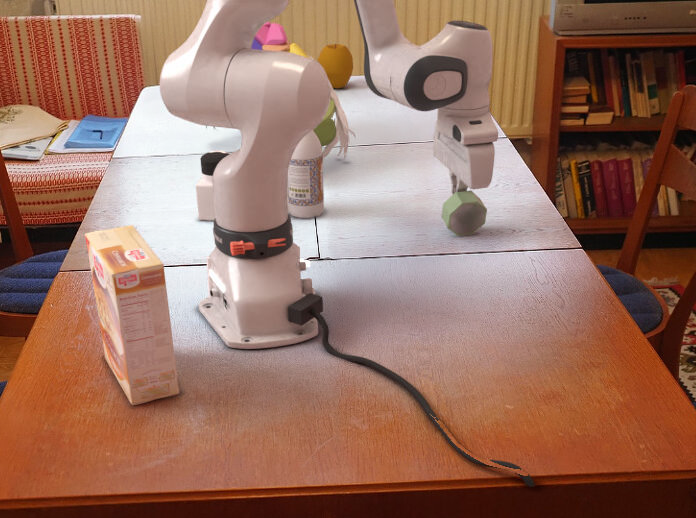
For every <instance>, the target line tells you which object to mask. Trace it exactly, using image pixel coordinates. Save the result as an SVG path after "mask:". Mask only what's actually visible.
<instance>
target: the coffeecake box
mask: <svg viewBox="0 0 696 518" xmlns="http://www.w3.org/2000/svg"><path fill="white" fill-rule="evenodd" d="M84 237H85V243H86V248H87V255H88V260H89V267H90V272H91V279H92V284H93V290H94V291H93V292H94V297H95V302H96V308H97V314H98V315H97V316H98V320H99V326H100V332H101V338H102V345H103V350H104V359H105V360H106V362H107V364H108V366H109V368H110V369H111V371H112V373H113V375H114V377H115V378H116V380H117V382H118V383H119V385H120V387H121V389H122V391H123V392H124V394H125V396H126V397H127V400H128V401H129V403H130V404H131V406H136V405H137V406H138V405H140V404H144V403H149V402H151V401H155V400H158V399H163V398H168V397H172V396H176V395H179V394H180V389H179V380H178V372H177V365H176V355H175V349H174V348H175V347H174V340H173V330H172V323H171V315H170V306H169V299H168V298H169V297H168V291H167V282H166V275H165V266H164V265H165V264H164V263H163V262H162V260H161V259H160V258H159V256H158V255H157V254H156V253H155V251H154V250H153V249H152V247H151V246H150V245H149V243H147V241H146V240H145V239H144V237H142V235H141V234H140V233H139V231H138V230H137V229H136V227H135V226H134V225H132V224H130V225H125V226H119V227H115V228H108V229H99V230H95V231H90V232H86V233H85V234H84Z"/></svg>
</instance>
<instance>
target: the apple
mask: <svg viewBox="0 0 696 518" xmlns="http://www.w3.org/2000/svg"><path fill="white" fill-rule="evenodd" d="M353 58H354V57H353V54H352V53H351V51H350V49H349V48H348V47H347V46H346V45H344V44H340V43H337V42H336V43H334V44H326V45H325V46H324V47H322V49H321V51H320V53H319V55H318V57H317V60H316V61H317V62H319V63H320V64H321V66H322V67H323V69H324V70H325V72H326V74H327V77H328V79H329V81H330V83H331V85H332V87H333V89H341V88H342V89H343V88H345V87H346V85H348V83H349V81H350V79H351V78H352V74H353V71H354V59H353Z"/></svg>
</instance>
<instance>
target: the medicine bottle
mask: <svg viewBox="0 0 696 518" xmlns="http://www.w3.org/2000/svg"><path fill="white" fill-rule="evenodd" d="M229 154H231V153H230V152H227V151H224V150H212V151H208V152H206V153H204V154H203V155H202V156H200V157H199V158H200V170H201V178H200V179H199V180H198V181H197V183H196V184H195V194H196V205H197V214H198V216H197V217H198V220H200V221H211V222H212V221H213V222H214V219H215V218H216V216H215V205H214V193H213V182H212V177H213V173H214V170H215V168H216V166H217V165H218V163H219V162H220V161H221V160H222V159H223V158H225V157H226V156H228V155H229Z"/></svg>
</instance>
